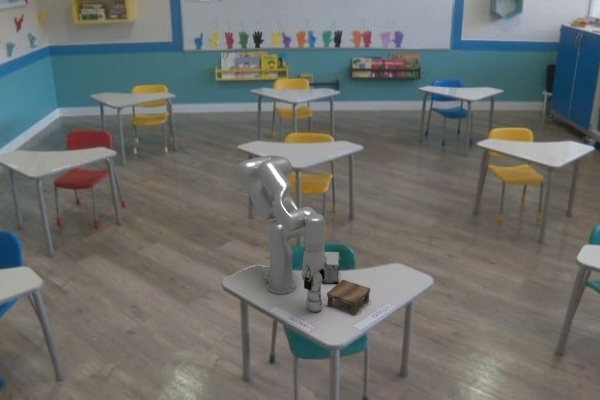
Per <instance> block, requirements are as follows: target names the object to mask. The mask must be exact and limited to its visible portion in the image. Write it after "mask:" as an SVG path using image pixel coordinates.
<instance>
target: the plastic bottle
mask: <svg viewBox="0 0 600 400" xmlns="http://www.w3.org/2000/svg"><path fill="white" fill-rule="evenodd" d="M308 273H310V272H309V271H308ZM310 274H311V273H310ZM309 276H310V275H307V277H308V278H309ZM311 281H312V290H307V289H306V290H307V291H306V292H307V293H306V294H307V296H306V301H305V306H306V309H307V310H308V311H309V312H313V313H317V312H319V311H321V309H322V308H323V301H322V300H323V299H322V283H323V282H322V275H321V274H320V272H317V273H316V274H315V275H313V276H312V278H311Z"/></svg>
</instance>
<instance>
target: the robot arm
mask: <svg viewBox="0 0 600 400" xmlns="http://www.w3.org/2000/svg"><path fill="white" fill-rule="evenodd" d="M235 170H236V171H235V172H236V178H237V181H238V183H239V185H240V187H241V188H242V189H243V190H244V191H245V192H246V193H247V195H248V196H249V197H250V200H251V202H252V204H253V205H254V207H255V209H256V211H257V212H258V214H259V215H260V217H261V219H262V220H264V221H268V222H269V221H271V222H270V223H269V224H268V225H267V226H266V235H267V236H266V237H267V240H268V248H269V272H268V271H265V272H264V276H263V279H265V280H268V281H267V283H266V289H267V290H268V292H271V293H272V294H276V295H286V294H287V295H288V294H289V293H292V292H293V291H294V290H296V288H297V283H296V281H295V280H294V279H293V249H292V247H291V245H290V244H289V243H288V242H289V241H291V240H293V239H296V238H299V237H301V236H303V235H304V251H303V256H302V272H301V274H300V276H301V279H302V281H303V289H305V290H312V281H311V278H312V276H313V275H315V274H316V273H317V272H320V274H321V275H322V279H323V280H324V279H325V271H324V270H325V265H326V260H327V257H326V256H325V252H326V251H325V233H326V232H325V228H326V227H325V224H326V223H325V217H324V215H323V214H321V213H317V212H316V210H314V209H313V208H312V207H310V206H304V207H301V208H299V207H298V205H297V203H296V201H294V199H293V198H292V196H291V195H290V194H291V192H292V190H293V184H292V183H291V182H290V180H289V179H288V178H287V177H289V176H290V175H291V174H292V172H293V166H292V162H291V161H290V160H289V159H288V158H287V157H285V156H284V155H283V156H282V155H272V154H271V155H270V154H269V155H268V154H267V155H263V156H259V157H255V158H249V159H246V160H243V161H242V162H240V163H239V164H238V165H237V167H236V169H235ZM257 179H261V180H262V182H261V181H259V180H257ZM308 272H310V273H311V274H310V273H308ZM307 275H310V276H309V278H308V277H307Z"/></svg>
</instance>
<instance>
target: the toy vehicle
mask: <svg viewBox="0 0 600 400" xmlns="http://www.w3.org/2000/svg"><path fill="white" fill-rule="evenodd" d="M325 256H326V257H327V260H326V265H325V270H324V271H325V279H324V280H323V279H322V283H326V284H327V283H330V284H331V283H333V284H338V283H339V270H340V265H339V264H340V263H339V261H342V259H341V258H342V256H340V253H339V251H325Z"/></svg>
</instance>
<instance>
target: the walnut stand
mask: <svg viewBox="0 0 600 400" xmlns="http://www.w3.org/2000/svg"><path fill="white" fill-rule="evenodd" d="M370 292H371V288H370V287H367V286H365V285H361V284H358V283H355V282H352V281H348V280H346V279H341V280H340V281H338V283H336V285H335V286H334V287H332V288H331V289H330V290H329V291H328V292H327V293H326V297H327V306H328V307H330V308H331V307H332V306H333V305H334V303H333V300H336V301H339V302H342V303H345V304H347V305H351V311H350V312H351V313H350V315H352V316H356V315H357V310H358V309H357V305H358V304H359V303H361V301H363V302H365V303H368V302H370Z"/></svg>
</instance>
